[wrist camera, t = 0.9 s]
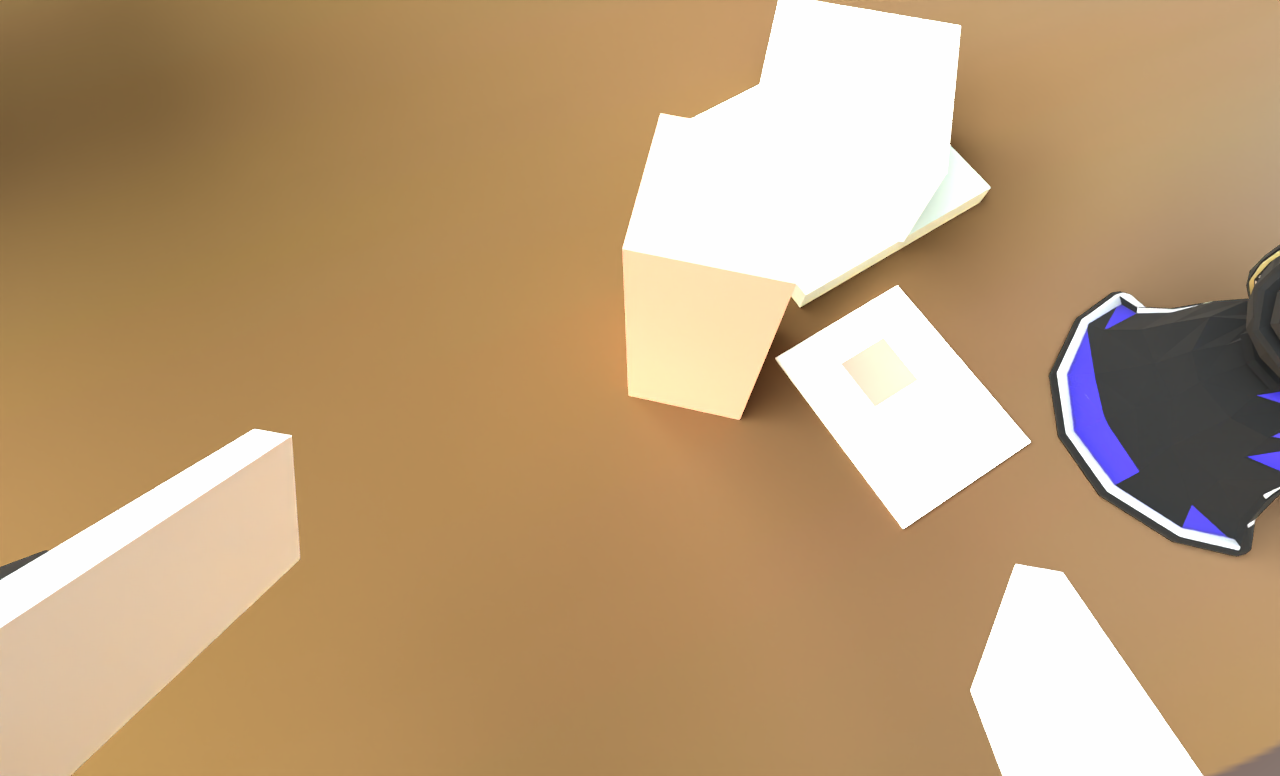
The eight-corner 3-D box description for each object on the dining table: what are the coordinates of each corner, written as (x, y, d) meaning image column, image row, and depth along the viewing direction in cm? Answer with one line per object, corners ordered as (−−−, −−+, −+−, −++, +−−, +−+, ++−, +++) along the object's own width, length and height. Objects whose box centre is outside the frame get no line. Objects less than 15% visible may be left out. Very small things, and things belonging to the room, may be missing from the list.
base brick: (732, 208, 34) (748, 135, 29) (761, 80, 36) (779, -6, 32) (903, 242, 33) (946, 172, 28) (918, 108, 36) (960, 25, 31)
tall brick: (628, 395, 32) (622, 248, 20) (653, 297, 33) (660, 113, 22) (739, 420, 31) (796, 283, 20) (758, 319, 33) (820, 142, 22)
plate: (671, 144, 36) (672, 128, 35) (842, 57, 38) (848, 39, 37) (799, 307, 33) (805, 295, 32) (979, 202, 35) (990, 187, 34)
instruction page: (775, 358, 32) (776, 357, 32) (896, 286, 33) (897, 284, 33) (902, 529, 29) (904, 528, 29) (1029, 443, 31) (1031, 441, 31)
